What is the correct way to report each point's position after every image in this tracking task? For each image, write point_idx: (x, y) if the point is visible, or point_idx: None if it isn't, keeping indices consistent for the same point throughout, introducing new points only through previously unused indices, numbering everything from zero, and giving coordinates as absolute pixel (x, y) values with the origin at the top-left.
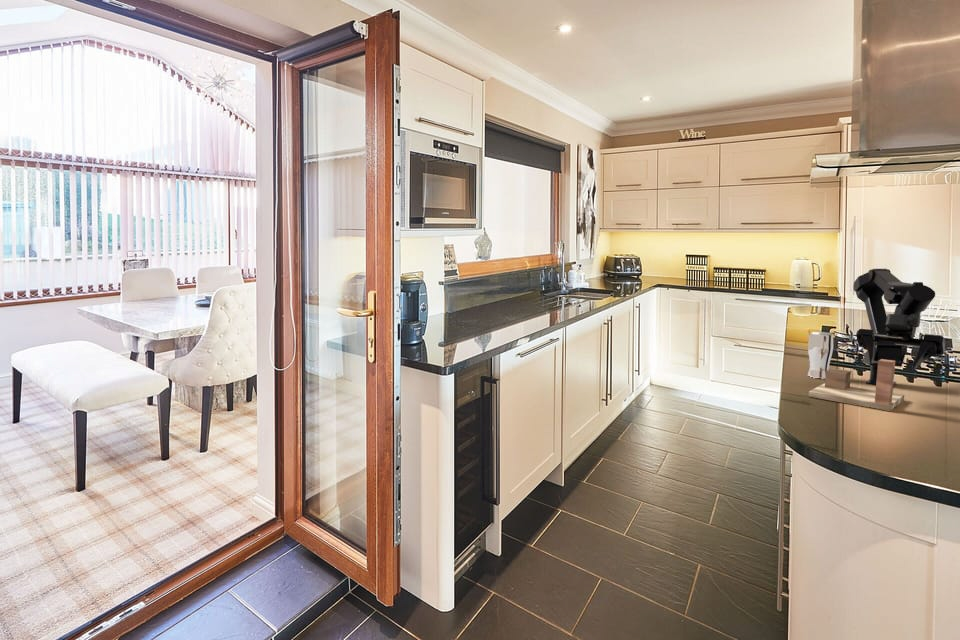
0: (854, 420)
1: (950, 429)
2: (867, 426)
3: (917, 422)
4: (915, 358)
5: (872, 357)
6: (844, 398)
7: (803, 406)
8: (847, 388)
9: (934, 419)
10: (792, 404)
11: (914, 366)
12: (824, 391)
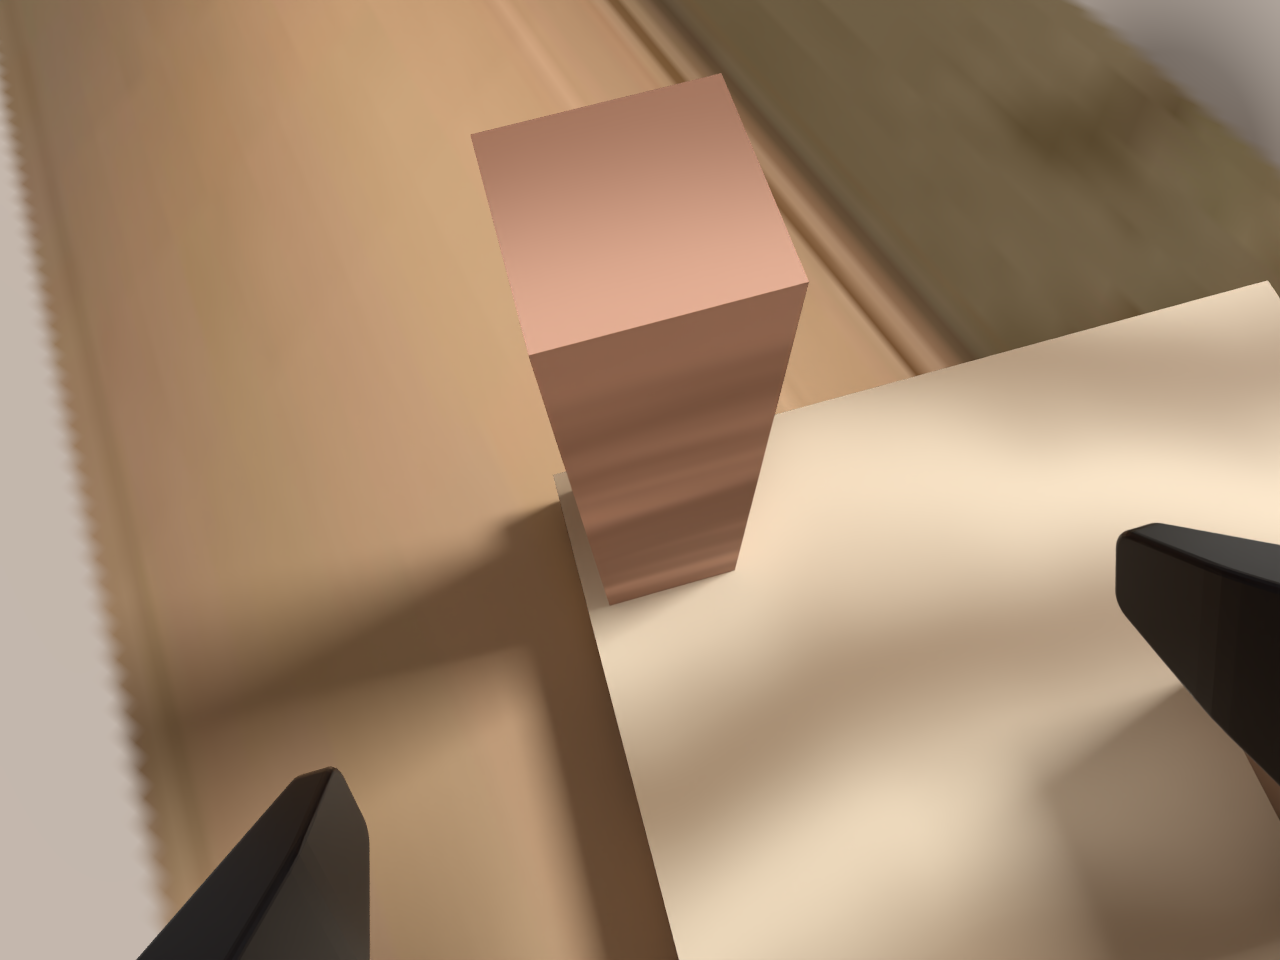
0: (581, 70)
1: (73, 433)
2: (464, 32)
3: (295, 397)
4: (229, 946)
5: (1215, 570)
6: (943, 372)
7: (989, 58)
8: (1273, 807)
9: (234, 615)
10: (1065, 35)
11: (294, 780)
12: (1219, 414)
